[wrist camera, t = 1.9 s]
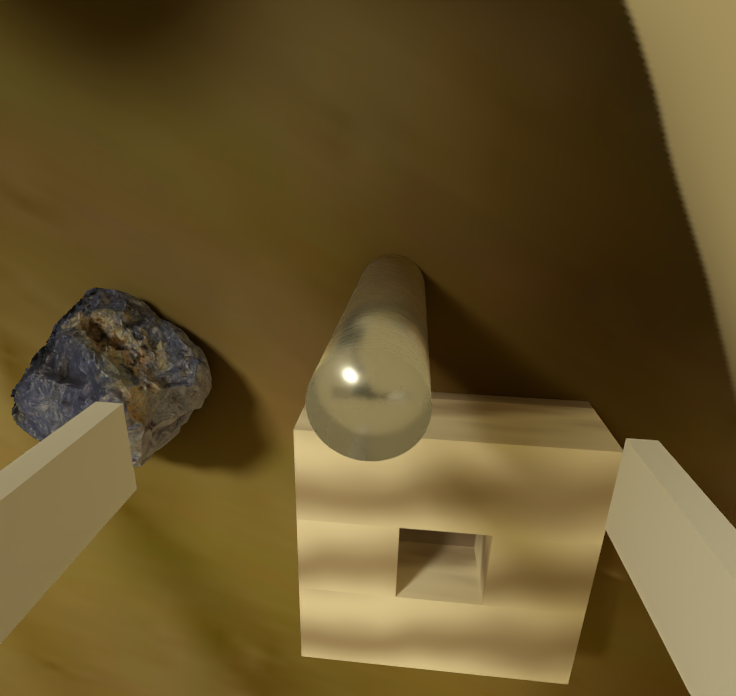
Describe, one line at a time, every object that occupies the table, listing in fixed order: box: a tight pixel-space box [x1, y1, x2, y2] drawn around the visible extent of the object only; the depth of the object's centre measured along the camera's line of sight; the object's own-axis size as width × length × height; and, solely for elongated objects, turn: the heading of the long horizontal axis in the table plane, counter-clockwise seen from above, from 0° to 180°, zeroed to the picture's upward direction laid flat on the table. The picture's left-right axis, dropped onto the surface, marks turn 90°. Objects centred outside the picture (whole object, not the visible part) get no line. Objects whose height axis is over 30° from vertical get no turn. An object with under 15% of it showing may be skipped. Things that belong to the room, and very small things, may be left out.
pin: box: [306, 254, 432, 461], centre depth 23 cm, size 4×4×16 cm
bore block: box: [294, 392, 623, 684], centre depth 33 cm, size 18×18×6 cm
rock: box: [11, 288, 212, 468], centre depth 31 cm, size 11×10×10 cm
